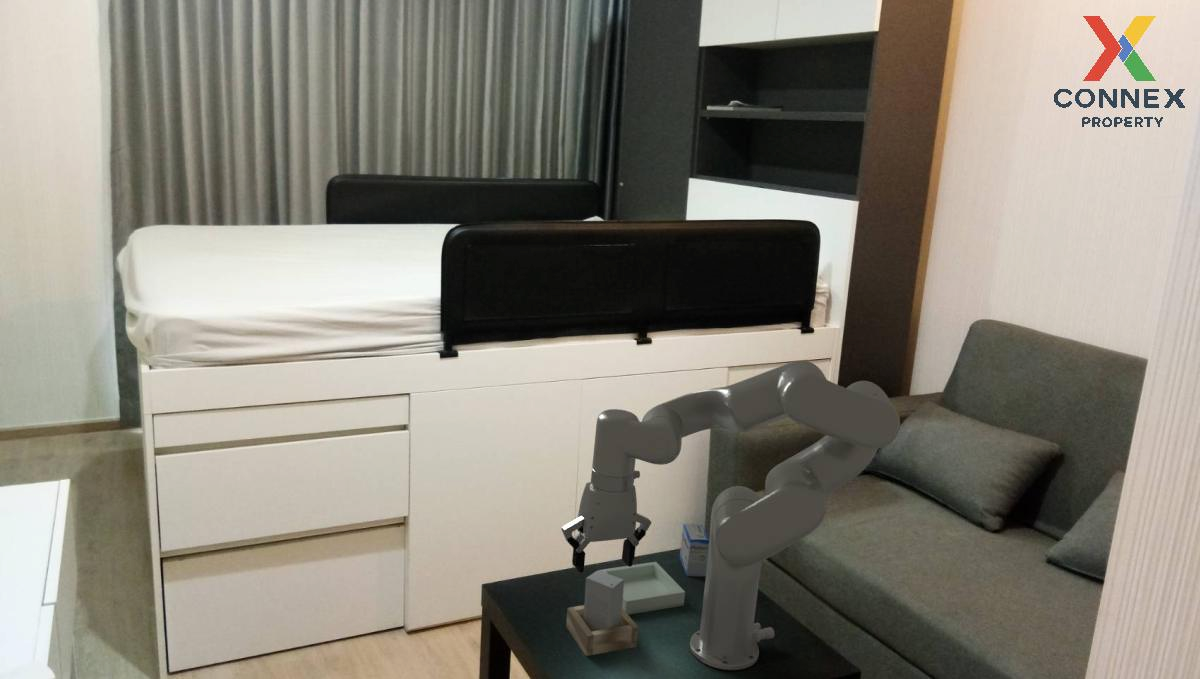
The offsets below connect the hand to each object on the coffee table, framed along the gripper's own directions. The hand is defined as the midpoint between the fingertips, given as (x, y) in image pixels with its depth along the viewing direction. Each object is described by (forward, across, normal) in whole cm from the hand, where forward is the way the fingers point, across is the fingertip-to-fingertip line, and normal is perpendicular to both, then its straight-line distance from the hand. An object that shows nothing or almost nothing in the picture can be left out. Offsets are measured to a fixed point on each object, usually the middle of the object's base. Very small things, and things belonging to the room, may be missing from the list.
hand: (602, 565), depth 167 cm
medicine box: (+14, -31, -18) cm, 39 cm away
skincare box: (+15, -1, 0) cm, 15 cm away
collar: (+14, -1, 0) cm, 14 cm away
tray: (+14, -15, -12) cm, 24 cm away
